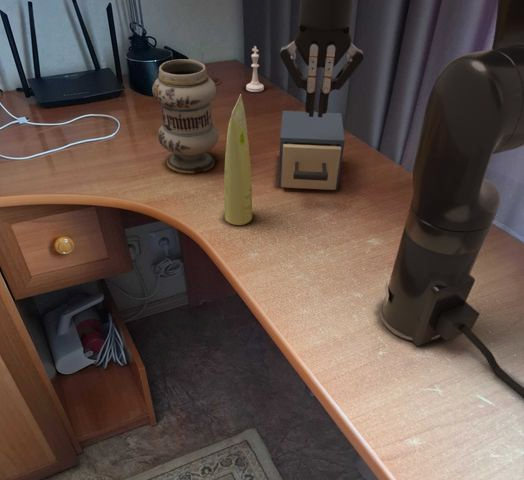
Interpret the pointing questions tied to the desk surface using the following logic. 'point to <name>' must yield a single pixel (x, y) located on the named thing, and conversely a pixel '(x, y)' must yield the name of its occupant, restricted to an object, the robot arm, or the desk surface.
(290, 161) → the drawer
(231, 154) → the tube
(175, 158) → the apothecary jar
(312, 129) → the mini filing cabinet
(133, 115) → the desk surface
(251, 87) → the chess piece
